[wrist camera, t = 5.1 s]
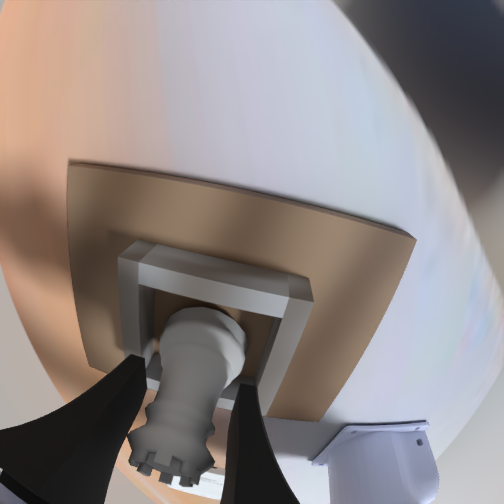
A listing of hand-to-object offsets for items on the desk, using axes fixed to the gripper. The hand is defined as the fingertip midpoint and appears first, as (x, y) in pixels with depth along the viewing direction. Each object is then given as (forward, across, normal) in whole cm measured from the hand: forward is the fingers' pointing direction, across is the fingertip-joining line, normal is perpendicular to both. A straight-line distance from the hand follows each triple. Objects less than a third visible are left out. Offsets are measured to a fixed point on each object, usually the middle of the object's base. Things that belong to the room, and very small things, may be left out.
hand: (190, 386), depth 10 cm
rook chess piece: (+4, 0, +1) cm, 4 cm away
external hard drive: (+6, -1, +28) cm, 28 cm away
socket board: (+5, 0, 0) cm, 5 cm away
